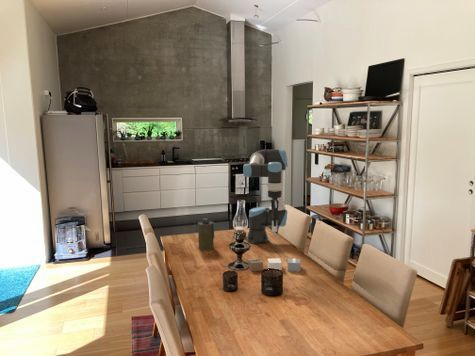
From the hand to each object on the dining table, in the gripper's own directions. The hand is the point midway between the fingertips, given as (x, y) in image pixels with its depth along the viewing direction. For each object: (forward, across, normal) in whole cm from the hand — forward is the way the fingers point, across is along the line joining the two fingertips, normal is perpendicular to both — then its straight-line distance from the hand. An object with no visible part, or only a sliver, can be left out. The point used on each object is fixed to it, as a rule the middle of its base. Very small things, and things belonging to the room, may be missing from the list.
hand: (274, 231), depth 215 cm
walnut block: (+22, -1, -11) cm, 25 cm away
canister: (+22, -39, -41) cm, 61 cm away
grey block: (+22, +1, +11) cm, 25 cm away
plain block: (+22, 0, 0) cm, 22 cm away
